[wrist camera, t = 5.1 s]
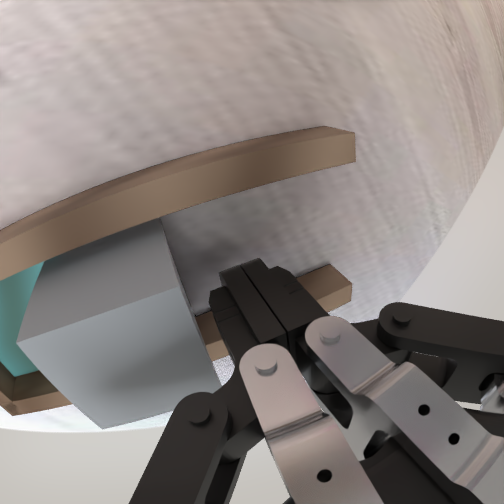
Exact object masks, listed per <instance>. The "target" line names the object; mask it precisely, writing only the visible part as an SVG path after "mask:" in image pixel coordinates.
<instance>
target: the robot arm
mask: <svg viewBox="0 0 504 504" xmlns="http://www.w3.org/2000/svg"><path fill="white" fill-rule="evenodd" d="M219 276H220V280H221V283H222V287H220V288H217V289H215V290H212V291H210V297H209V305H210V307H211V310H212V313H213V316H214V319H215V322H216V325H217V328H218V331H219V333H220V335H221V338H222V340H223V342H224V344H225V346H226V349H227V351H228V353H229V355H230V357H231V359H232V361H233V364H234V366H235V369H234V372H233V375H232V376H231V378H230V379H229V381H228V382H227V383H226V384H224V385H223V386H222V387H221V388H219V389H218V390H217V391H215V392H214V393H210V392H196V393H192V394H190V395H188V396H186V397H184V398H183V399H182V400H181V401H180V402H179V403H178V404H177V405H176V407H175V409H174V411H173V413H172V415H171V417H170V419H169V421H168V423H167V425H166V428H165V430H164V432H163V434H162V436H161V438H160V440H159V442H158V444H157V446H156V448H155V450H154V453H153V454H152V457H151V459H150V461H149V463H148V465H147V467H146V469H145V471H144V473H143V475H142V477H141V479H140V481H139V483H138V486H137V488H136V490H135V492H134V494H133V496H132V498H131V500H130V502H129V504H229V502H230V499H231V497H232V494H233V491H234V488H235V486H236V483H237V480H238V477H239V474H240V472H241V469H242V466H243V463H244V460H245V457H246V454H247V451H249V450H250V449H251V448H252V447H254V446H255V445H256V444H257V443H258V442H260V441H261V440H262V439H263V438H264V437H265V440H266V442H267V444H268V447H269V449H270V452H271V454H272V456H273V459H274V461H275V463H276V466H277V468H278V470H279V473H280V475H281V477H282V480H283V482H284V484H285V486H286V488H287V491H288V493H289V495H290V498H288V499H287V500H286V501H285V502H284V503H283V504H504V321H499V320H493V319H487V318H482V317H476V316H470V315H465V314H460V313H455V312H449V311H444V310H439V309H434V308H428V307H423V306H418V305H413V304H408V303H402V302H395V303H391V304H388V305H386V306H385V307H384V308H383V309H382V310H381V311H380V314H379V319H374V320H370V321H365V322H360V323H349V322H348V321H346V320H344V319H342V318H340V317H335V316H330V315H329V314H328V313H327V312H326V311H325V310H324V309H323V308H322V307H321V305H320V304H319V303H318V302H317V301H316V300H315V299H314V298H313V297H312V296H311V294H310V293H309V292H308V291H307V290H306V289H304V287H303V286H302V285H301V283H300V282H298V281H297V279H296V278H295V277H294V276H293V275H292V274H291V273H290V271H287V270H285V269H283V268H281V267H279V266H276V267H274V268H271V269H269V268H268V267H267V266H266V265H265V264H264V262H263V261H262V260H261V259H260V258H257V259H255V260H252V261H249V262H246V263H243V264H241V265H238V266H235V267H233V268H230V269H227V270H224V271H222V272H219ZM415 352H417V353H415ZM420 353H422V354H420ZM426 354H427V355H426ZM431 355H432V356H431ZM436 356H438V357H436ZM303 377H304V378H303ZM304 379H305V380H306V382H305V380H304ZM455 401H460V402H468V403H475V404H482V405H481V407H480V411H479V410H473V409H467V408H462V407H461V406H460V405H459V404H458V403H457V402H455ZM319 406H320V407H319ZM321 409H322V410H323V411H324V412H323V411H322V410H321Z"/></svg>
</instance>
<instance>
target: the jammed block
mask: <svg viewBox="0 0 504 504" xmlns="http://www.w3.org/2000/svg"><path fill="white" fill-rule="evenodd" d="M16 343H17V345H18V346H19V347H20V348H21V350H22V351H23V352H24V353H25V354H26V356H27V357H28V358H29V359H30V360H31V361H32V363H33V364H34V365H35V366H36V367H37V368H38V369H39V370H40V371H41V373H42V374H43V375H44V376H45V377H46V378H47V379H48V380H49V381H50V382H51V383H52V384H53V385H54V386H55V387H56V388H57V389H58V390H59V391H60V392H61V393H62V394H63V395H64V396H65V397H66V398H67V399H68V400H69V401H70V402H71V403H72V404H73V405H75V406H76V407H77V408H78V409H79V410H80V411H81V412H82V413H83V414H85V415H86V416H87V417H88V418H89V419H90V420H92V421H93V422H94V423H95V424H96V425H98V426H99V427H100V428H101V429H106V428H110V427H115V426H119V425H123V424H127V423H131V422H135V421H138V420H142V419H146V418H149V417H153V416H156V415H160V414H163V413H166V412H170V411H173V410H174V409H175V407H176V405H177V404H178V403H179V402H180V401H181V400H182V399H183V398H184V397H186V396H188V395H190V394H192V393H196V392H210V393H214V392H215V391H217V390H218V389H219V388H221V387H222V385H221V383H220V380H219V378H218V376H217V373H216V371H215V368H214V366H213V363H212V361H211V358H210V356H209V353H208V351H207V348H206V346H205V343H204V341H203V338H202V335H201V333H200V330H199V327H198V325H197V322H196V319H195V317H194V314H193V311H192V309H191V306H190V304H189V301H188V298H187V296H186V293H185V291H184V288H183V285H182V282H181V280H180V277H179V274H178V271H177V269H176V266H175V263H174V260H173V257H172V254H171V252H170V249H169V246H168V243H167V240H166V237H165V234H164V231H163V228H162V225H161V221H160V218H156V219H153V220H150V221H147V222H144V223H141V224H138V225H136V226H133V227H130V228H127V229H125V230H122V231H119V232H116V233H114V234H111V235H108V236H106V237H103V238H100V239H98V240H95V241H93V242H90V243H87V244H85V245H82V246H80V247H77V248H75V249H72V250H70V251H67V252H65V253H62V254H60V255H58V256H55V257H53V258H50V259H48V260H46V261H44V263H43V266H42V268H41V271H40V273H39V276H38V278H37V281H36V283H35V286H34V288H33V291H32V294H31V297H30V300H29V302H28V305H27V308H26V311H25V314H24V317H23V321H22V324H21V327H20V331H19V334H18V338H17V341H16Z"/></svg>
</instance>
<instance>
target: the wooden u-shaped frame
mask: <svg viewBox="0 0 504 504" xmlns="http://www.w3.org/2000/svg"><path fill="white" fill-rule="evenodd" d="M353 162H356V154H355V133H354V132H350V131H345V130H341V129H336V128H332V127H327V126H322V127H315V128H309V129H303V130H297V131H292V132H286V133H281V134H276V135H271V136H266V137H261V138H256V139H252V140H247V141H243V142H239V143H234V144H230V145H226V146H222V147H218V148H214V149H210V150H207V151H203V152H199V153H196V154H192V155H189V156H185V157H182V158H178V159H175V160H171V161H168V162H165V163H162V164H159V165H155V166H152V167H149V168H146V169H143V170H140V171H137V172H134V173H131V174H129V175H126V176H123V177H120V178H117V179H115V180H112V181H109V182H107V183H104V184H101V185H99V186H96V187H94V188H91V189H88V190H86V191H83V192H81V193H79V194H76V195H74V196H71V197H69V198H67V199H64V200H62V201H60V202H57V203H55V204H53V205H51V206H49V207H46V208H44V209H42V210H40V211H38V212H36V213H34V214H31V215H29V216H27V217H25V218H23V219H21V220H19V221H17V222H15V223H13V224H11V225H9V226H8V227H6V228H4V229H2V230H0V406H2V407H3V408H4V409H5V410H6V411H7V412H8V413H10V414H11V415H12V416H15V415H21V414H27V413H32V412H38V411H43V410H48V409H53V408H57V407H62V406H66V405H71V404H72V403H71V402H70V401H69V400H68V399H67V398H66V397H65V396H64V395H63V394H62V393H61V392H60V391H59V390H58V389H57V388H56V387H55V386H54V385H53V384H52V383H51V382H50V381H49V380H48V379H47V378H46V377H45V376H44V375H43V374H42V373H41V371H40V370H39V369H38V368H37V367H36V366H35V365H34V364H33V363H32V361H31V360H30V359H29V358H28V357H27V356H26V354H25V353H24V352H23V351H22V350H21V348H20V347H19V346H18V345H17V343H16V341H17V338H18V334H19V331H20V327H21V324H22V321H23V317H24V314H25V311H26V308H27V305H28V302H29V300H30V297H31V294H32V291H33V288H34V286H35V283H36V281H37V278H38V276H39V273H40V271H41V268H42V266H43V263H44V261H46V260H48V259H50V258H53V257H55V256H58V255H60V254H62V253H65V252H67V251H70V250H72V249H75V248H77V247H80V246H82V245H85V244H87V243H90V242H92V241H95V240H98V239H100V238H103V237H106V236H108V235H111V234H114V233H116V232H119V231H122V230H124V229H127V228H130V227H133V226H136V225H138V224H141V223H144V222H147V221H150V220H153V219H156V218H158V217H161V216H164V215H167V214H170V213H173V212H176V211H179V210H182V209H185V208H189V207H192V206H195V205H198V204H201V203H204V202H207V201H211V200H214V199H217V198H220V197H224V196H227V195H230V194H234V193H237V192H241V191H244V190H248V189H251V188H255V187H258V186H262V185H265V184H269V183H272V182H276V181H280V180H284V179H287V178H291V177H295V176H299V175H303V174H307V173H311V172H315V171H319V170H323V169H327V168H331V167H335V166H340V165H344V164H348V163H353ZM296 279H297V281H298V282H300V283H301V285H302V286H303V287H304V289H306V290H307V291H308V292H309V293H310V294H311V296H312V297H313V298H314V299H315V300H316V301H317V302H318V303H319V304H320V305H321V307H322V308H323V309H324V310H325V311H326V312H330V311H332V310H334V309H336V308H338V307H340V306H342V305H344V304H346V303H348V302H350V301H351V294H352V283H351V282H350V281H349V280H348V279H347V278H345V277H344V276H343V275H342V274H341V273H340V272H339V271H338V270H336V269H335V268H334V267H333V266H332V265H331V264H329V265H327V266H324V267H322V268H320V269H317V270H315V271H312V272H310V273H308V274H305V275H303V276H300V277H298V278H296ZM195 319H196V322H197V325H198V327H199V330H200V333H201V335H202V338H203V341H204V343H205V346H206V348H207V351H208V353H209V356H210V358H211V361H215V360H218V359H220V358H223V357H226V356H228V355H229V353H228V351H227V349H226V346H225V344H224V342H223V340H222V338H221V335H220V333H219V331H218V328H217V325H216V322H215V319H214V316H213V313H212V311H210V312H207V313H205V314H202V315H199V316H196V317H195Z"/></svg>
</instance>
